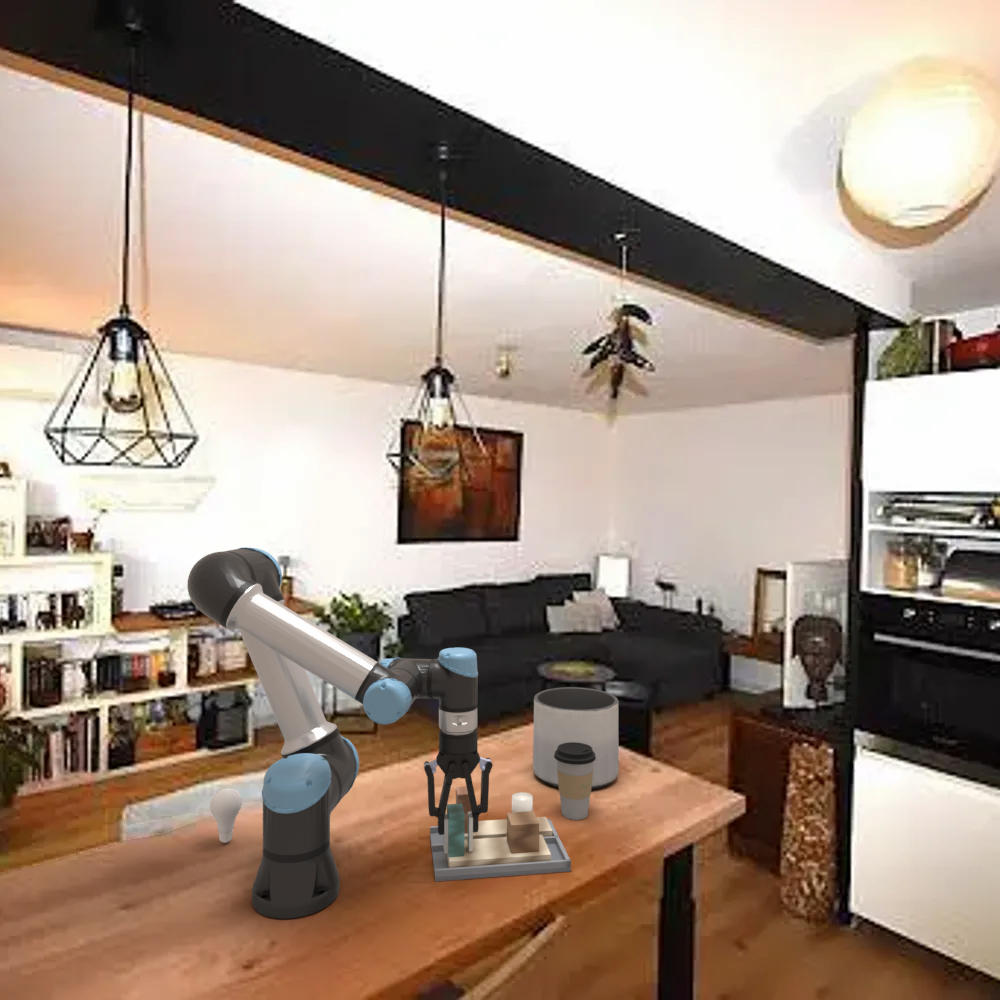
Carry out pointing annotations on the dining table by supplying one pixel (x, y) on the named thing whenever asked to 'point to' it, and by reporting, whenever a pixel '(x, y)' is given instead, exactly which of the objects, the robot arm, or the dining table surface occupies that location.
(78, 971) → the dining table surface
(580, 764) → the coffee cup
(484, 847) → the strip
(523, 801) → the stoneware cylinder
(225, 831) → the lightbulb
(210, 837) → the dining table surface
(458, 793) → the strip
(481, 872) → the lane board
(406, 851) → the dining table surface
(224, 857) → the dining table surface
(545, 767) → the planter
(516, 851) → the walnut cube
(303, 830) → the robot arm
